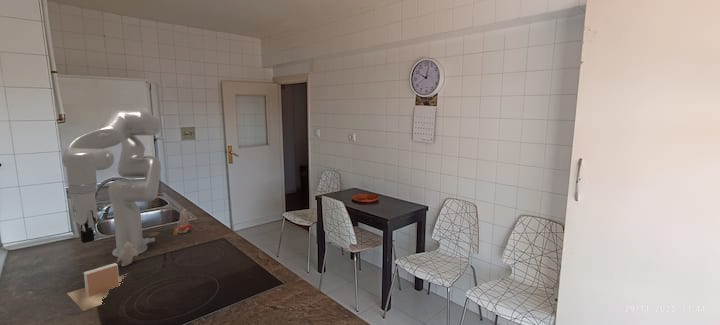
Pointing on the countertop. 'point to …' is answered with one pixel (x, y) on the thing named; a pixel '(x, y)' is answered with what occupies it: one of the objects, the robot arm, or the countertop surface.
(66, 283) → the countertop surface
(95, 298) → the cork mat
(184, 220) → the figurine
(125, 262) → the arrowhead
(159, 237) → the countertop surface
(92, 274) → the tile
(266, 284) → the countertop surface
